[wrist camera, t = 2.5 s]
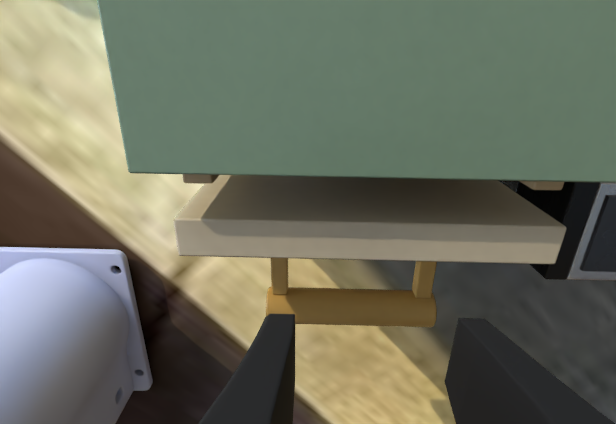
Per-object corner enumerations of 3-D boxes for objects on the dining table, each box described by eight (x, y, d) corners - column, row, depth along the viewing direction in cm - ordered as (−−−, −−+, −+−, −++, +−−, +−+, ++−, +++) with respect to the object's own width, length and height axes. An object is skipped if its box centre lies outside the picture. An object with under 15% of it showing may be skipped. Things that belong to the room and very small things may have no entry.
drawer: (451, 274, 18) (518, 382, 12) (234, 269, 18) (194, 373, 12) (540, -176, 12) (781, -424, 6) (200, -178, 12) (80, -422, 6)
